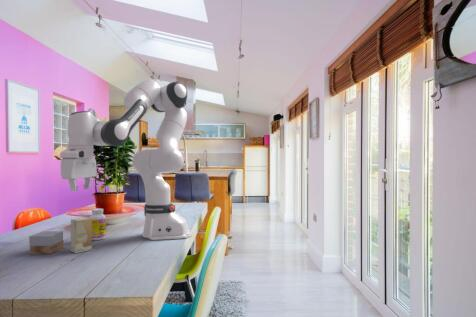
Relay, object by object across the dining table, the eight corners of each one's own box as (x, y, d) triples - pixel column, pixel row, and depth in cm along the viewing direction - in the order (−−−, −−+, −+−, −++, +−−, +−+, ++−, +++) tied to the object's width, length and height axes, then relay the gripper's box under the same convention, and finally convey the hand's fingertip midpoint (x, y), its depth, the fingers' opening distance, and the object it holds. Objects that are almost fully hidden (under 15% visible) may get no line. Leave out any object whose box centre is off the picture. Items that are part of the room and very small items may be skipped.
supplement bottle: (99, 241, 135) (99, 210, 135) (85, 240, 137) (85, 210, 137) (109, 237, 142) (108, 208, 142) (95, 236, 143) (95, 207, 143)
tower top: (63, 240, 125) (63, 231, 125) (51, 245, 118) (51, 236, 117) (42, 240, 125) (42, 231, 125) (29, 245, 117) (29, 236, 117)
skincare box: (75, 253, 118) (75, 220, 117) (70, 251, 120) (69, 219, 120) (92, 249, 123) (92, 217, 123) (86, 247, 125) (86, 216, 125)
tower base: (63, 249, 125) (63, 240, 125) (51, 255, 117) (51, 245, 117) (43, 249, 126) (43, 240, 126) (29, 255, 118) (29, 245, 118)
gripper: (85, 154, 132) (85, 187, 132) (57, 152, 111) (56, 192, 111) (101, 154, 132) (100, 187, 132) (75, 152, 111) (74, 192, 111)
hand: (80, 190), depth 121 cm, fingers open, 8 cm apart
